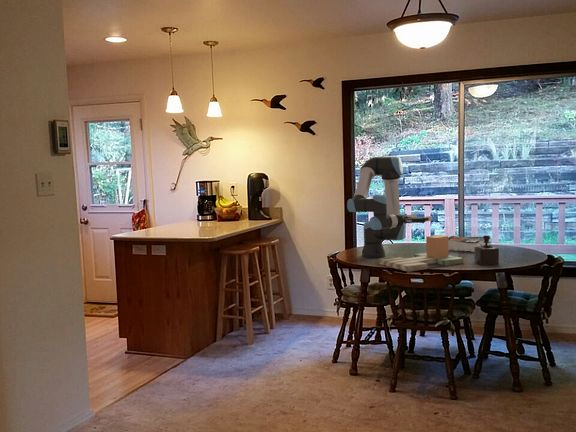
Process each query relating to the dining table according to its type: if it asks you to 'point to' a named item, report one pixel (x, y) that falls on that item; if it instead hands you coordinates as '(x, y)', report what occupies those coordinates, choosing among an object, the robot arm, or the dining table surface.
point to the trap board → (419, 262)
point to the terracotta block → (437, 246)
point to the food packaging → (464, 243)
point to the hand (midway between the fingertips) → (424, 217)
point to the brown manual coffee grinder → (486, 253)
